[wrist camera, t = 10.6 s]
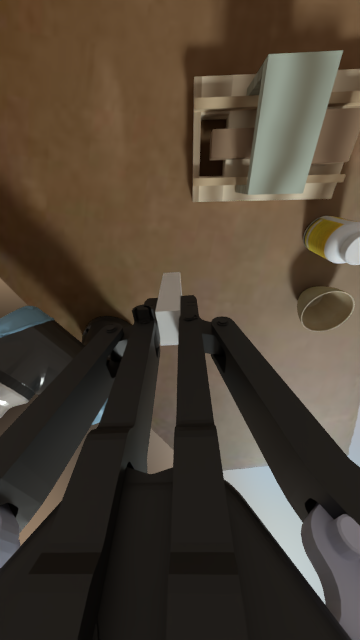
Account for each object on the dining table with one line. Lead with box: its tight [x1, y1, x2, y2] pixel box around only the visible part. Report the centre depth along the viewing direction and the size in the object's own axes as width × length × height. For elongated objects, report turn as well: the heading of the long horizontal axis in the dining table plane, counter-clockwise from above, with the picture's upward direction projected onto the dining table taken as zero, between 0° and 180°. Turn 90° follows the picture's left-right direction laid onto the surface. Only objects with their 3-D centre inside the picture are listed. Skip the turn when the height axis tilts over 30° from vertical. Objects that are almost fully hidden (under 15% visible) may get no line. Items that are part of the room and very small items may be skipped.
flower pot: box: [297, 286, 355, 332], centre depth 43 cm, size 10×10×7 cm
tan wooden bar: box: [209, 108, 360, 165], centre depth 27 cm, size 18×5×5 cm, turn 92°
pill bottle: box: [303, 216, 360, 265], centre depth 34 cm, size 6×6×12 cm
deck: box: [192, 50, 360, 202], centre depth 27 cm, size 23×14×12 cm, turn 91°
